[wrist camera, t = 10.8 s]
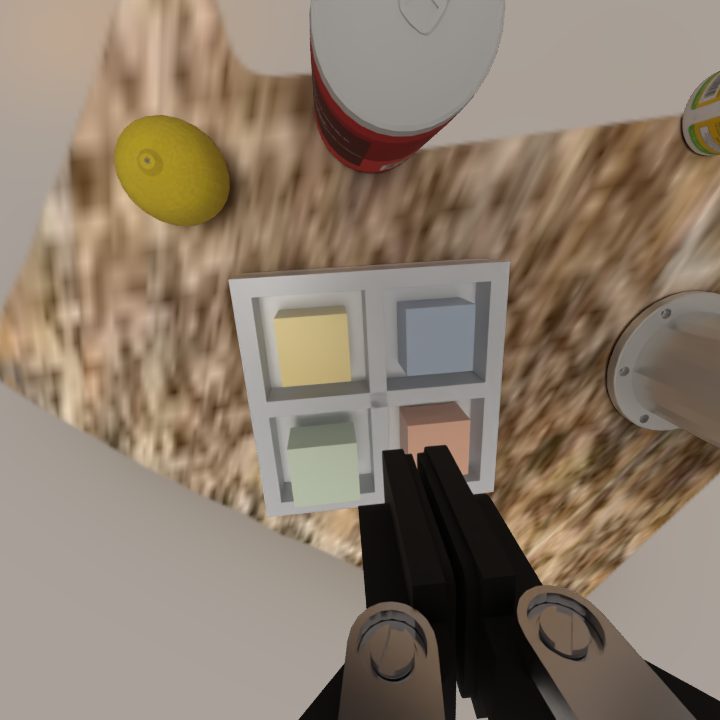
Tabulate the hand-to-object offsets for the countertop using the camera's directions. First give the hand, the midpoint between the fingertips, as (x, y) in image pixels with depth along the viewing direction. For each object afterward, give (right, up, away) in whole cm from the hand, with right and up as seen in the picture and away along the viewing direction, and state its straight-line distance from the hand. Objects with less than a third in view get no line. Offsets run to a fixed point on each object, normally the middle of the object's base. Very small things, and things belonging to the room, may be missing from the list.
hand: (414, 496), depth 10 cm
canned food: (-1, +20, +15) cm, 25 cm away
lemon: (-12, +16, +15) cm, 25 cm away
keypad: (-1, +2, +21) cm, 21 cm away
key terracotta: (+4, -2, +20) cm, 21 cm away
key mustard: (-5, +5, +17) cm, 18 cm away
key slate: (+4, +6, +18) cm, 19 cm away
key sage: (-4, -3, +18) cm, 19 cm away
